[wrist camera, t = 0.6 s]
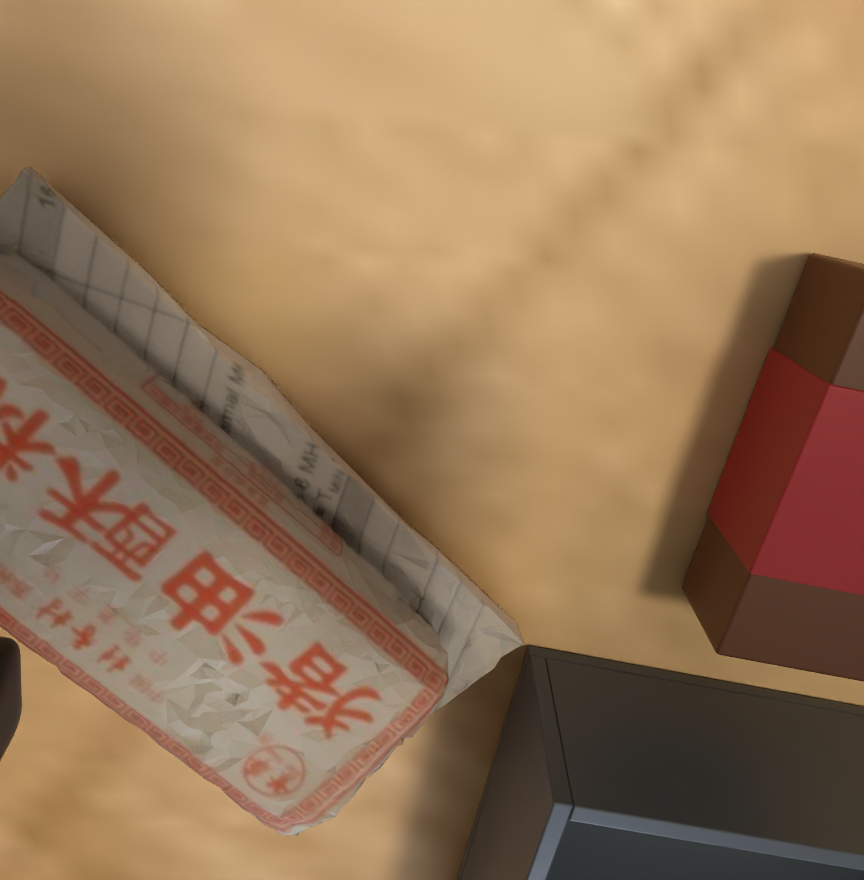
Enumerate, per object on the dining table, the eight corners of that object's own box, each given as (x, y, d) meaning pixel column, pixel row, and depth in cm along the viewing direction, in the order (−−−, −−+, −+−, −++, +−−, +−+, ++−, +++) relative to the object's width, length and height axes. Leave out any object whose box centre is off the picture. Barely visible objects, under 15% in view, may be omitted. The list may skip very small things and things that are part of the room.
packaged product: (-333, 496, 16) (-83, 167, 14) (-165, 421, 21) (47, 162, 18) (272, 923, 21) (545, 736, 18) (303, 786, 26) (526, 620, 23)
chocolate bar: (966, 286, 19) (1067, 314, 16) (814, 611, 23) (872, 685, 20) (806, 251, 19) (876, 272, 16) (678, 586, 22) (714, 656, 19)
